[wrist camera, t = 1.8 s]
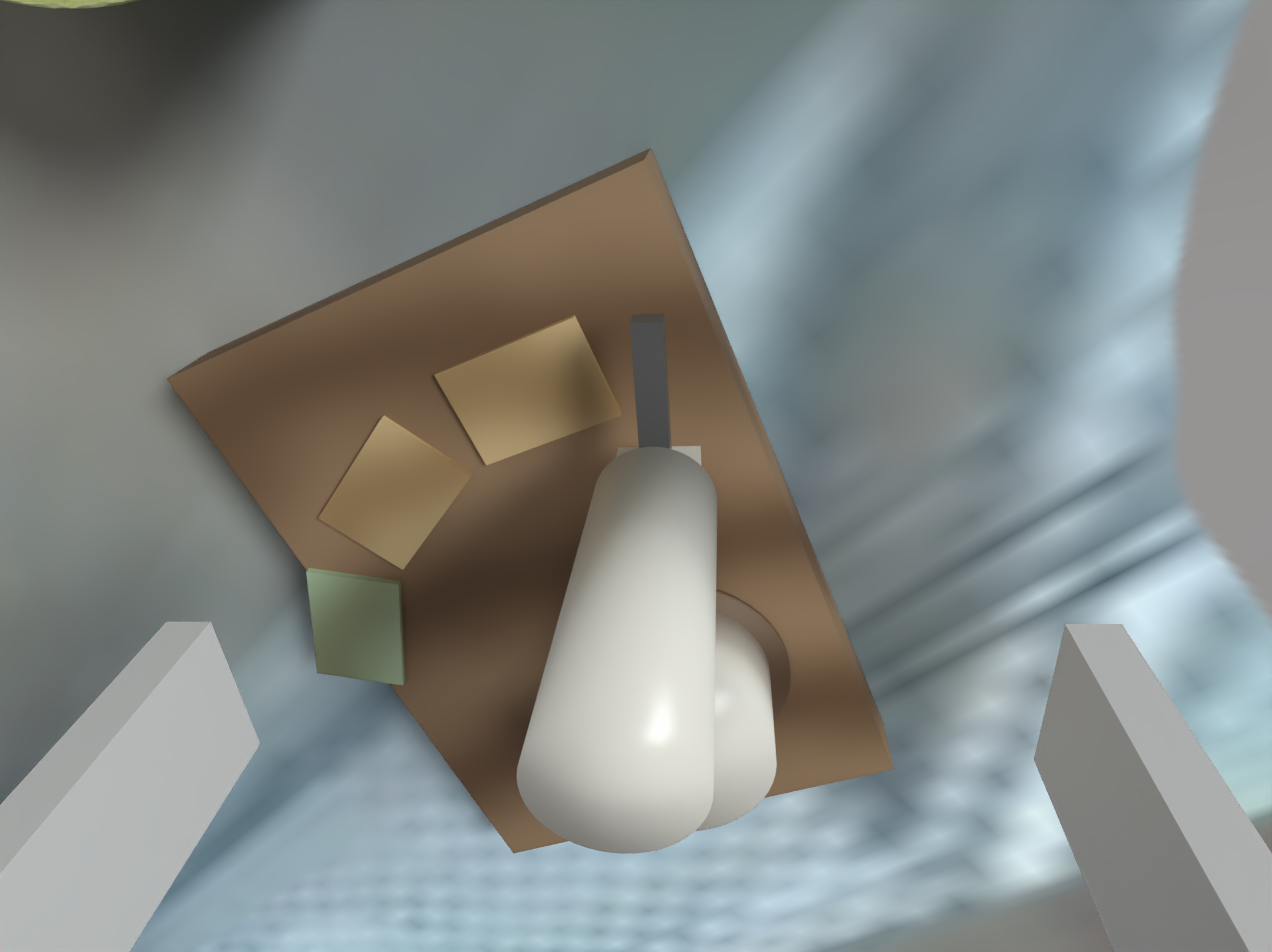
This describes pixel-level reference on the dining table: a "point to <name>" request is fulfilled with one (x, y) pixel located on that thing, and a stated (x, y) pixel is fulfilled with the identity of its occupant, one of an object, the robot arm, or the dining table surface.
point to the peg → (648, 656)
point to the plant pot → (70, 3)
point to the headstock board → (518, 475)
